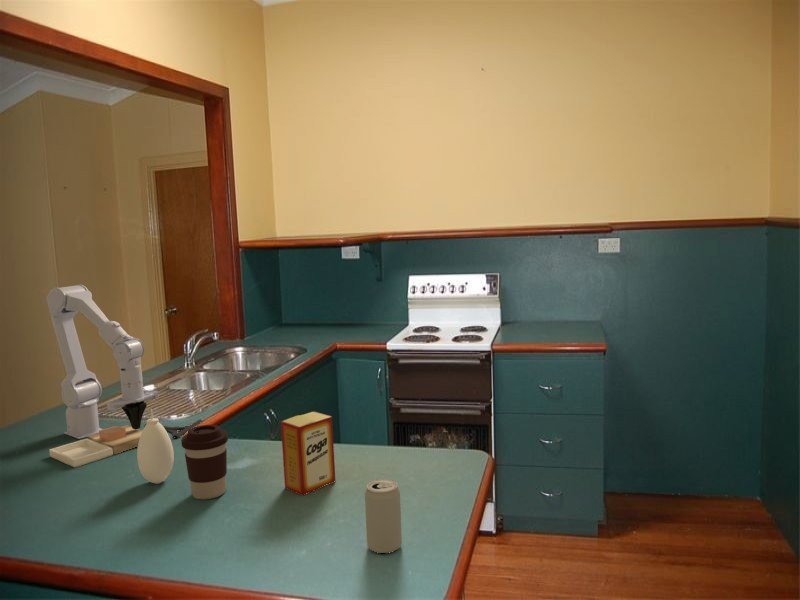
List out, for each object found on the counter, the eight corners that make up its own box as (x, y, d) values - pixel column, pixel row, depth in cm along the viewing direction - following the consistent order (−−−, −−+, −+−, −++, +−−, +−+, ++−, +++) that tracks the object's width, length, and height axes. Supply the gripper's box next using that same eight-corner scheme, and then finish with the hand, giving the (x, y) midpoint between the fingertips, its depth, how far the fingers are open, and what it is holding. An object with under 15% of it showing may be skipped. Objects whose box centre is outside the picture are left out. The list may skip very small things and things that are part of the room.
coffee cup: (240, 486, 146) (235, 423, 144) (214, 505, 137) (209, 438, 135) (204, 482, 149) (199, 420, 148) (176, 500, 140) (170, 434, 138)
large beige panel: (89, 445, 179) (88, 436, 178) (127, 433, 188) (127, 425, 187) (114, 454, 170) (113, 445, 170) (153, 442, 179) (153, 433, 179)
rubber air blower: (163, 489, 146) (156, 413, 144) (133, 488, 148) (126, 413, 145) (181, 476, 154) (175, 403, 151) (152, 474, 155) (146, 403, 153)
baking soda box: (317, 474, 151) (313, 409, 149) (335, 481, 147) (331, 414, 145) (285, 488, 145) (280, 420, 143) (302, 495, 140) (298, 425, 138)
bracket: (158, 423, 198) (158, 414, 198) (202, 424, 195) (202, 415, 195) (131, 439, 184) (130, 430, 184) (178, 441, 181) (177, 431, 181)
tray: (50, 456, 170) (49, 449, 170) (88, 445, 178) (87, 438, 178) (74, 467, 162) (73, 460, 162) (113, 455, 170) (112, 448, 170)
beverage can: (366, 540, 120) (363, 479, 118) (400, 537, 120) (398, 476, 119) (367, 557, 113) (364, 493, 112) (403, 554, 114) (401, 490, 112)
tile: (99, 438, 176) (98, 430, 176) (116, 433, 180) (116, 425, 180) (108, 441, 173) (107, 433, 173) (126, 436, 177) (125, 428, 177)
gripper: (114, 389, 172) (118, 438, 174) (162, 378, 184) (166, 423, 185) (101, 386, 177) (106, 433, 178) (149, 375, 188) (153, 419, 190)
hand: (136, 428), depth 182 cm, fingers closed
